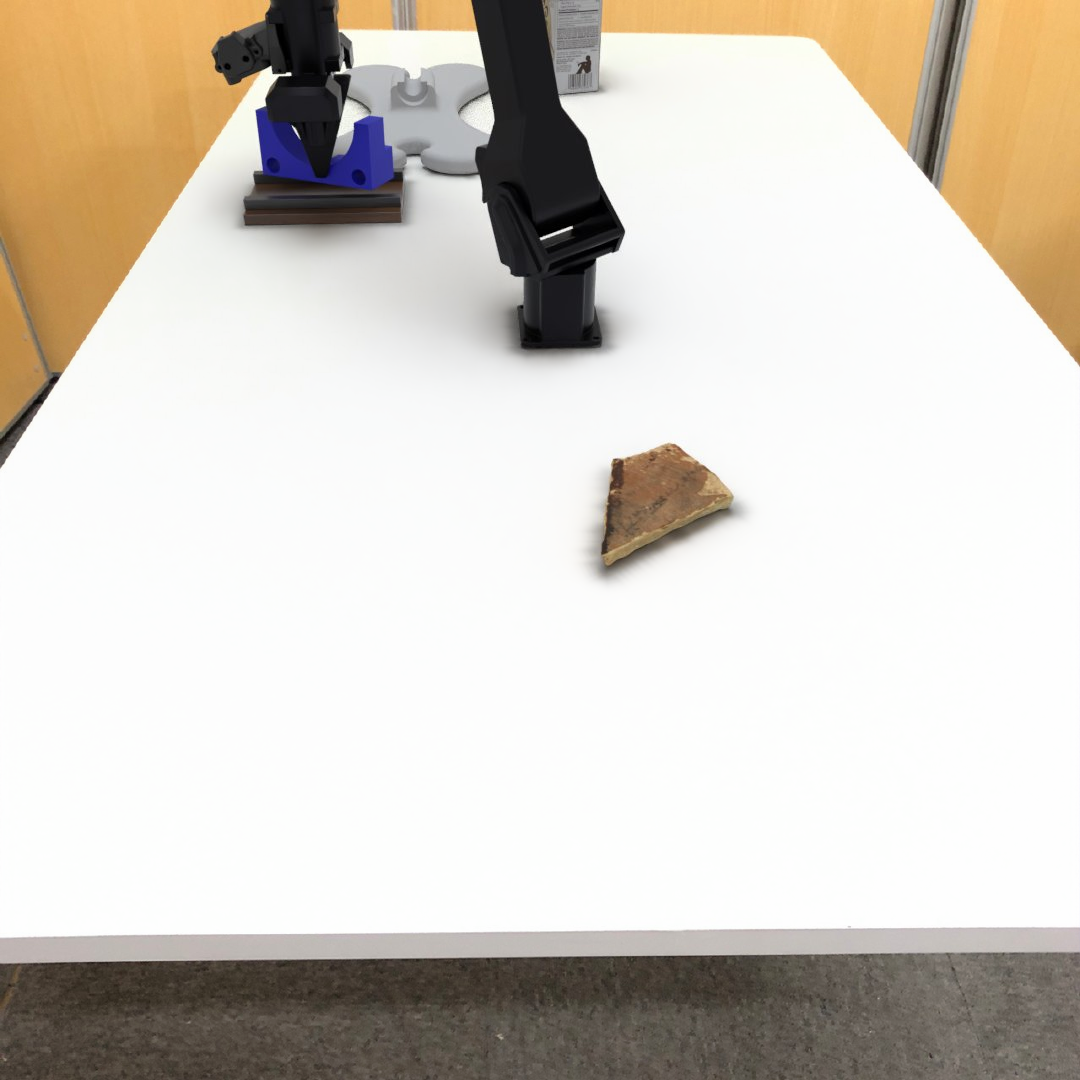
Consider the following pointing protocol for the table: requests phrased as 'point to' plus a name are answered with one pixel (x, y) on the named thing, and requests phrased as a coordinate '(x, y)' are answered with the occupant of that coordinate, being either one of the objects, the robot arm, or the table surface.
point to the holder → (422, 113)
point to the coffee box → (575, 43)
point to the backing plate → (321, 201)
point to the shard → (657, 498)
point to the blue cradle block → (357, 168)
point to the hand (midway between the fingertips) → (324, 167)
